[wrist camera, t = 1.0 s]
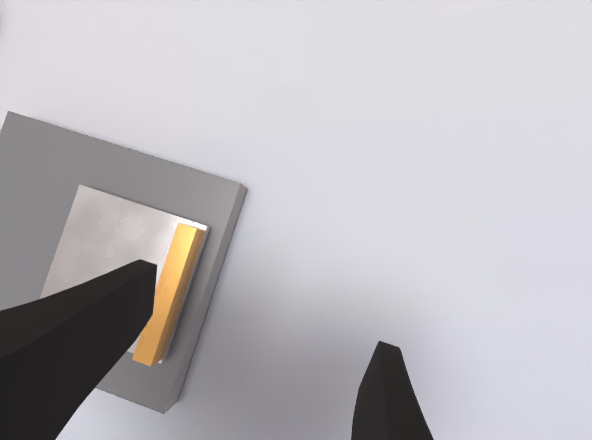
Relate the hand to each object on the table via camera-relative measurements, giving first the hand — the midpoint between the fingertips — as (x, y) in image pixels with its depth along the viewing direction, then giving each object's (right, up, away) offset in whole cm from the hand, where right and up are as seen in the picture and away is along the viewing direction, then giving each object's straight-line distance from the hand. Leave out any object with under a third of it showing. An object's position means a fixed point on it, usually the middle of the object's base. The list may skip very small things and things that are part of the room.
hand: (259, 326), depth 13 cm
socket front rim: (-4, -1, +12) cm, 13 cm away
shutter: (-8, +1, +10) cm, 13 cm away
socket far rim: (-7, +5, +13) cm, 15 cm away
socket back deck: (-14, +2, +13) cm, 20 cm away
